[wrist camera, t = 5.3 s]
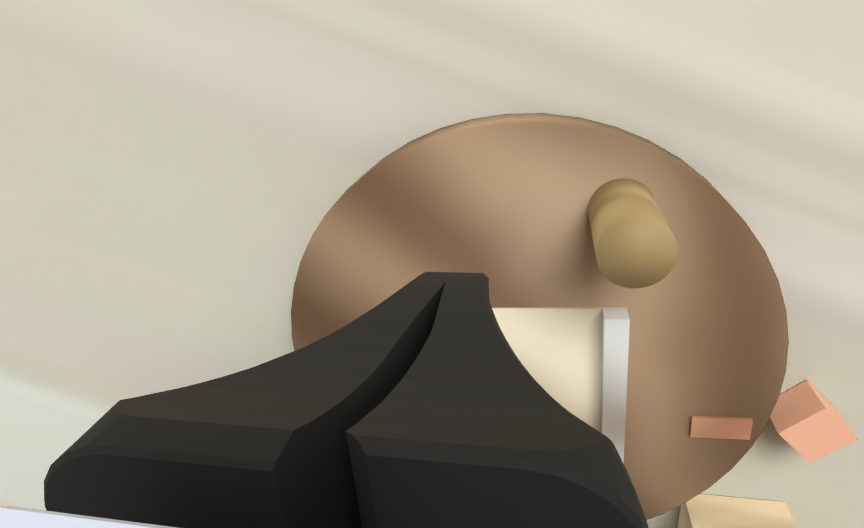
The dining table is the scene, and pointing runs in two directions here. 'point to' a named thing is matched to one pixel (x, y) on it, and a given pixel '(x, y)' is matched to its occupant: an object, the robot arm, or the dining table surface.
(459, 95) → the dining table surface
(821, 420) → the salmon block
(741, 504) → the oak link block
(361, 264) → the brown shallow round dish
